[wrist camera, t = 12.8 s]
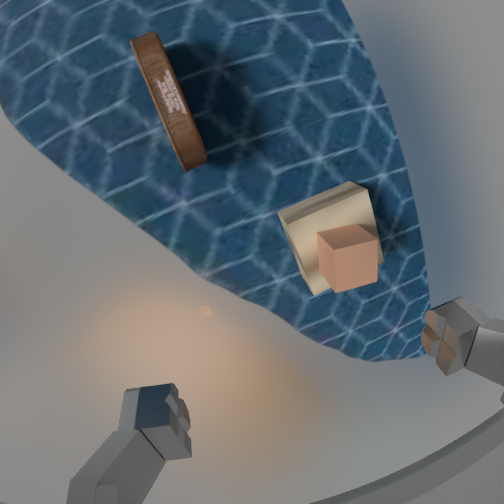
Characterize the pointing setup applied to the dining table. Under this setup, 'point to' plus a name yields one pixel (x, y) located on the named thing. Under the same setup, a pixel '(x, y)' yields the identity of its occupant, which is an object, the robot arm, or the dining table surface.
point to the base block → (325, 226)
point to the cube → (347, 257)
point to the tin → (169, 100)
